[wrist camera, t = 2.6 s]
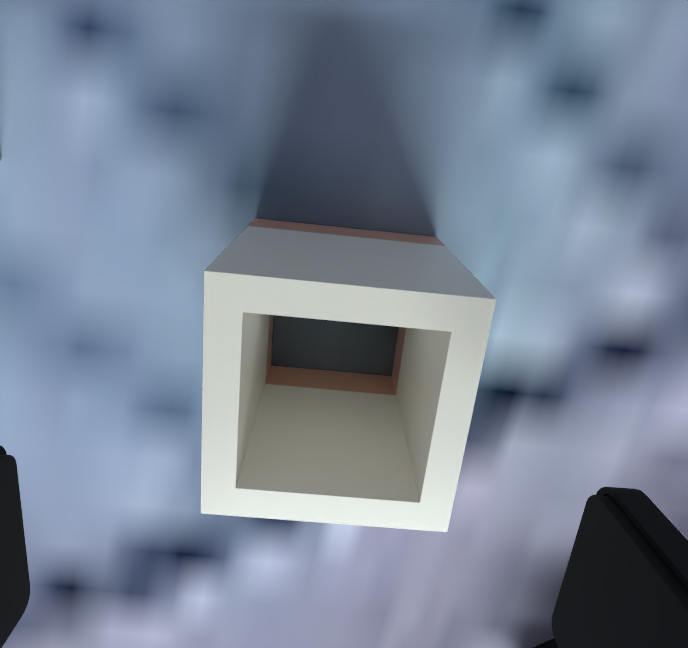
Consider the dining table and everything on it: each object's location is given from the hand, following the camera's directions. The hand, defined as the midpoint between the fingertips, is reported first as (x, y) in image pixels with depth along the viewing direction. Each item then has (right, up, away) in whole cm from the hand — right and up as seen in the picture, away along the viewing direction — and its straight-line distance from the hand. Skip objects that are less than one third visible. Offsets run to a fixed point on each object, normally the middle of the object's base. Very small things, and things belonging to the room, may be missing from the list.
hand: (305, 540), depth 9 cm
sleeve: (0, +4, +10) cm, 10 cm away
